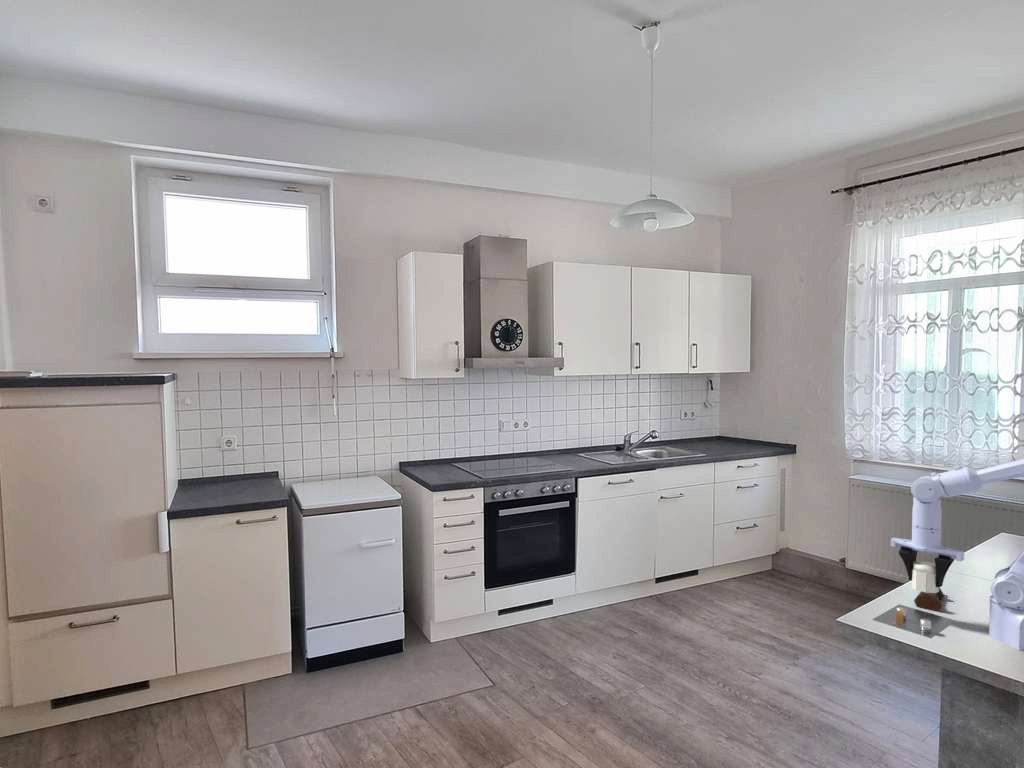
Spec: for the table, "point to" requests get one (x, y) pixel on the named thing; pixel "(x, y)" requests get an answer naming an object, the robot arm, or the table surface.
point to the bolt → (929, 600)
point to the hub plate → (914, 620)
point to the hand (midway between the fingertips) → (925, 582)
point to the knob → (924, 577)
